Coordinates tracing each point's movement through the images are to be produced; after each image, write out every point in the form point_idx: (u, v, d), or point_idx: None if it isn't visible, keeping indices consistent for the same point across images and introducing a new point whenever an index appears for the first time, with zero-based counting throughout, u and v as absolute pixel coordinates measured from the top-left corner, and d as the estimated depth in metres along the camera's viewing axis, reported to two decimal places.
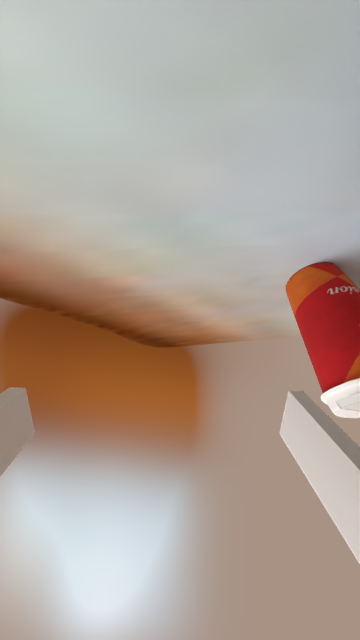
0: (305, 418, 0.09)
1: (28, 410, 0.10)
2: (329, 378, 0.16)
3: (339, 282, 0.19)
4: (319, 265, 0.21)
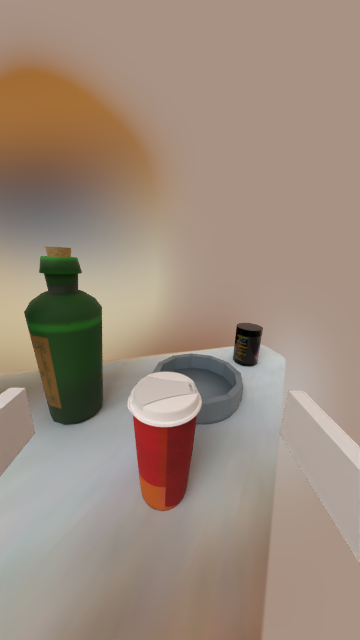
0: (305, 418, 0.09)
1: (28, 410, 0.10)
2: (139, 423, 0.19)
3: None
4: None
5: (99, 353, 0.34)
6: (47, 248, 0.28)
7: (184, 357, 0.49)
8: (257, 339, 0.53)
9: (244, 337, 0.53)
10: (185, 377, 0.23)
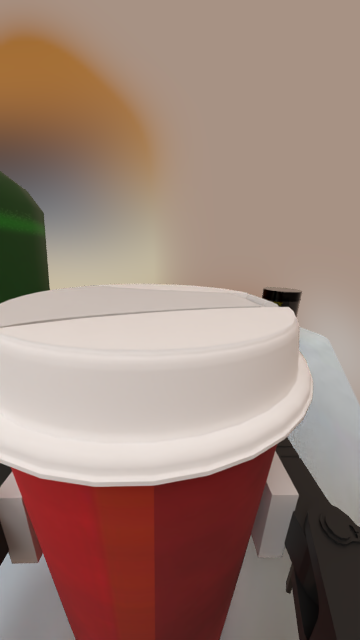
0: None
1: None
2: None
3: None
4: None
5: None
6: None
7: None
8: (295, 306, 0.37)
9: (276, 303, 0.37)
10: (218, 289, 0.08)
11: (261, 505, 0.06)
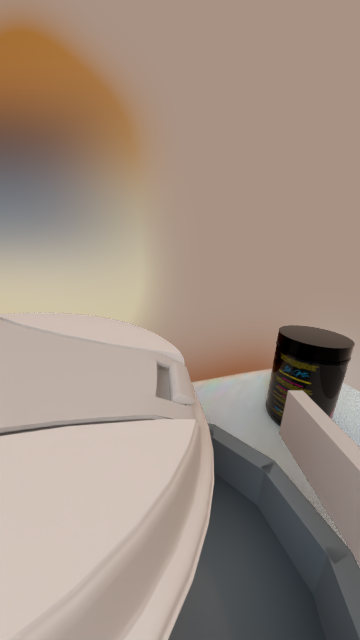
0: (305, 418, 0.09)
1: None
2: None
3: None
4: None
5: None
6: None
7: None
8: (342, 371, 0.19)
9: (306, 366, 0.19)
10: (151, 337, 0.06)
11: None
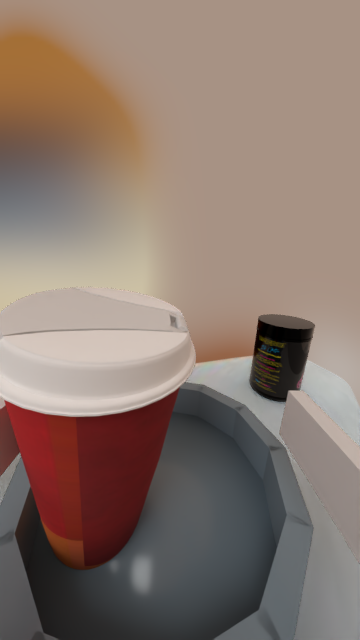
0: (305, 418, 0.09)
1: None
2: None
3: None
4: None
5: None
6: None
7: None
8: (305, 348, 0.25)
9: (277, 343, 0.25)
10: (164, 304, 0.10)
11: None
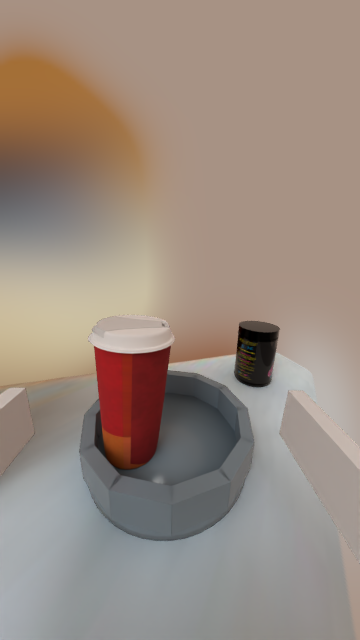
0: (305, 418, 0.09)
1: (28, 410, 0.10)
2: (100, 355, 0.17)
3: None
4: None
5: None
6: None
7: None
8: (272, 346, 0.34)
9: (251, 343, 0.34)
10: (158, 319, 0.21)
11: None
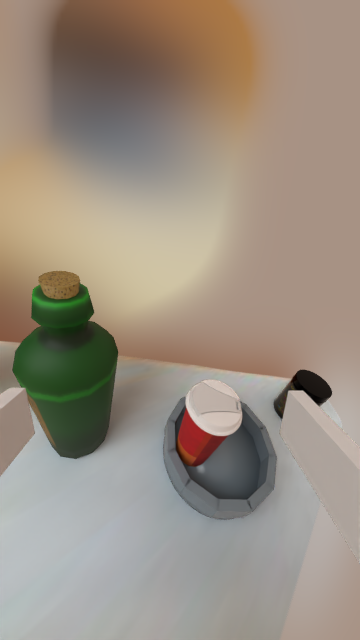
0: (305, 419, 0.09)
1: (28, 410, 0.10)
2: (192, 421, 0.26)
3: None
4: None
5: (105, 405, 0.27)
6: (40, 283, 0.17)
7: None
8: None
9: None
10: (233, 392, 0.28)
11: None
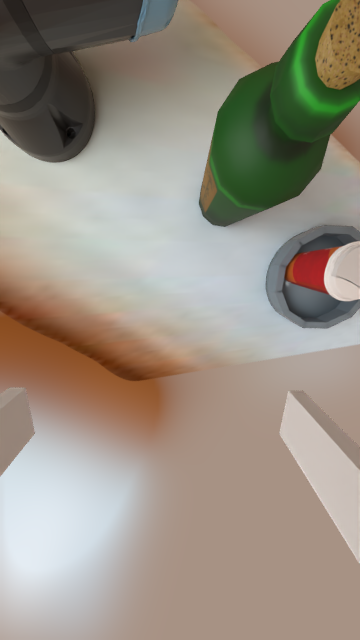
0: (305, 418, 0.09)
1: (28, 410, 0.10)
2: (322, 271, 0.27)
3: None
4: (295, 254, 0.37)
5: None
6: (327, 38, 0.09)
7: None
8: None
9: None
10: None
11: None
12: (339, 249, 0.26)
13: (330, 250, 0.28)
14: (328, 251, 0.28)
